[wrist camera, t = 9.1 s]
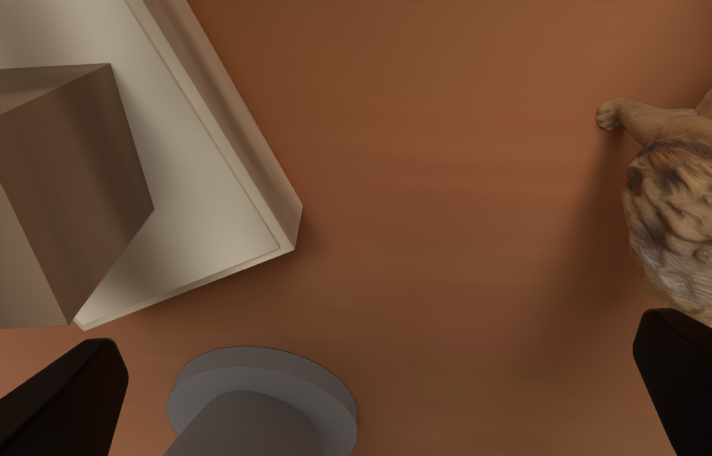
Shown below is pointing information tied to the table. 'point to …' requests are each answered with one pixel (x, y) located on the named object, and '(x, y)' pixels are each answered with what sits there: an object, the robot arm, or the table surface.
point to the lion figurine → (669, 200)
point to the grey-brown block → (63, 189)
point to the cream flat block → (167, 144)
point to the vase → (260, 406)
